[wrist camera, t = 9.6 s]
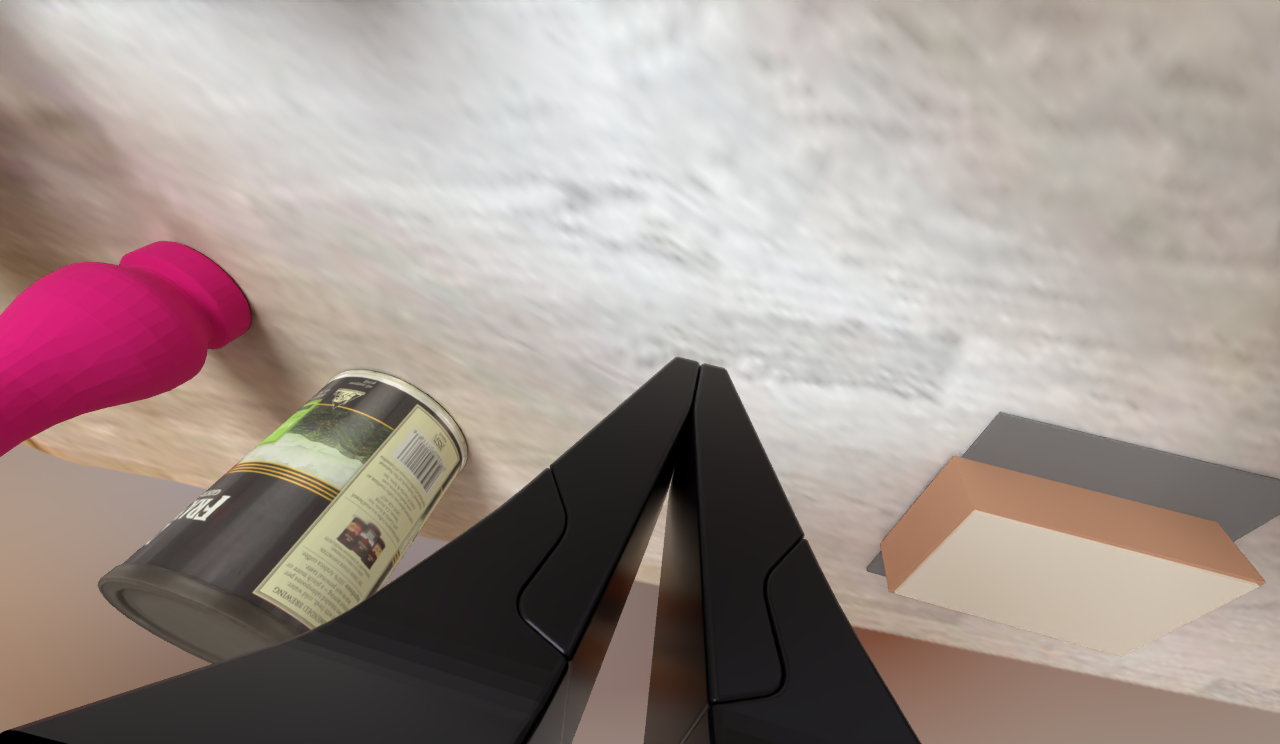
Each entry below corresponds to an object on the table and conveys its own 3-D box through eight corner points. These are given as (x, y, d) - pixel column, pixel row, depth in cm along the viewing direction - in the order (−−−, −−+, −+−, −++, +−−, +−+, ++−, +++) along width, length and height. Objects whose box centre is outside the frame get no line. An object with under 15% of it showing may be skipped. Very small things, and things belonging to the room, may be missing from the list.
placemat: (1313, 488, 21) (1317, 492, 21) (1081, 627, 30) (1082, 630, 30) (1000, 411, 22) (1001, 415, 22) (866, 568, 31) (866, 571, 31)
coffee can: (306, 412, 34) (87, 607, 23) (360, 340, 29) (103, 554, 18) (426, 496, 38) (283, 701, 27) (497, 446, 32) (351, 682, 21)
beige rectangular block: (953, 455, 24) (1217, 522, 23) (880, 543, 29) (1092, 601, 28) (973, 508, 21) (1269, 585, 20) (889, 594, 26) (1122, 659, 25)
